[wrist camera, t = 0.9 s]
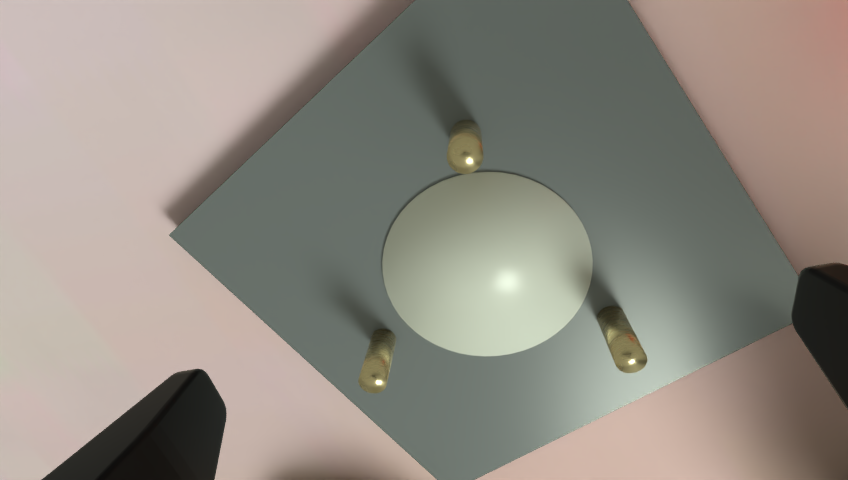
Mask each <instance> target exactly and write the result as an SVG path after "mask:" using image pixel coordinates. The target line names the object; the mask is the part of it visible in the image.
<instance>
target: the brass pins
mask: <svg viewBox="0 0 848 480" xmlns="http://www.w3.org/2000/svg"><path fill="white" fill-rule="evenodd" d="M447 161H448V164H449V166H450V167H451V168H452V169H453V170H454V171H456V172H458V173H461V174H469V173H472V172H474V171H476V170H477V169H478V168H479V167H480V166H481V164H482V161H483V146H482V135H481V130H480V128H479V126H478V125H477V124H476V123H475V122H473V121H471V120H461V121H459V122H457V123H456V124H455V125H454V126H453V127H452V129H451V132H450V138H449V144H448V151H447ZM597 321H598V324H599V326H600V329H601V331H602V334H603V336H604V338H605V341H606V343H607V346H608V348H609V350H610V353H611V355H612V358H613V360H614V363H615V365H616V367H617V368H618V369H619V370H620V371H622V372H624V373H635V372H638V371H640V370H642V369H643V368H644V367H645V366H646V364H647V355H646V353H645V352H644V350H643V348H642V346H641V344H640V342H639V340H638V338H637V336H636V334H635V332H634V330H633V328H632V326H631V324H630V322H629V321H628V319H627V317H626V315H625V313H624V311H623V310H622V309H621V308H620V307H617V306H607V307H605V308H603V309H601V310H600V311H599V313H598V315H597ZM395 345H396V336H395V334H394V333H393V332H392V331H390V330H388V329H378V330H376V331H374V332H373V334H372V336H371V340H370V343H369V346H368V349H367V353H366V356H365V359H364V363H363V366H362V369H361V373H360V376H359V379H358V383H359V385H360V387H361V388H362V389H363V390H364V391H366V392H368V393H380V392H382V391H383V390H384V389H385V388H386V385H387V381H388V376H389V372H390V367H391V363H392V358H393V354H394V349H395Z"/></svg>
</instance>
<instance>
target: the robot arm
mask: <svg viewBox="0 0 848 480" xmlns="http://www.w3.org/2000/svg"><path fill="white" fill-rule="evenodd" d="M791 318H792V323H793V326H794V328H795V330H796V332H797V333H798V335H799V336H800V338H801V339H802V341H803V342H804V344H805V345H806V347H807V348H808V350H809V352H810V353H811V355H812V356H813V358H814V359H815V361H816V362H817V364H818V365H819V367H820V368H821V370H822V371H823V373H824V374H825V376H826V377H827V379H828V380H829V382H830V383H831V385H832V387H833V388H834V390H835V391H836V393H837V394H838V396H839V397H840V399H841V400H842V402H843V403H844V405H845V406H846V408H847V409H848V265H844V264H840V263H829V264H823V265H817V266H811V267H807V268H805V269H803V270H802V271H801V273H800V274H799V277H798V282H797V287H796V291H795V296H794V301H793V306H792V311H791ZM225 422H226V407H225V404H224V401H223V400H222V398H221V396H220V395H219V393H218V391H217V389H216V388H215V386H214V384H213V383H212V381H211V379H210V378H209V376H208V374H207V373H206V372H205V371H203V370H202V369H193V370H187V371H181V372H177V373H175V374H173V375H172V376H170V377H169V378H168V379H167V380H165V381H164V382H163V383H162V384H160V385H159V386H158V387H157V388H155V389H154V390H153V391H152V392H150V393H149V394H148V395H147V396H145V397H144V398H143V399H142V400H140V401H139V402H138V403H137V404H136V405H134V406H133V407H132V408H131V409H129V410H128V411H127V412H126V413H124V414H123V415H122V416H121V417H119V418H118V419H117V420H116V421H114V422H113V423H112V424H111V425H109V426H108V427H107V428H106V429H104V430H103V431H102V432H101V433H99V434H98V435H97V436H96V437H94V438H93V439H92V440H91V441H89V442H88V443H87V444H86V445H84V446H83V447H82V448H81V449H79V450H78V451H77V452H76V453H74V454H73V455H72V456H71V457H69V458H68V459H67V460H66V461H64V462H63V463H62V464H61V465H59V466H58V467H57V468H56V469H54V470H53V471H52V472H51V473H49V474H48V475H47V476H46V477H44V478H43V479H42V480H214V479H215V474H216V469H217V464H218V458H219V453H220V448H221V443H222V438H223V433H224V427H225Z"/></svg>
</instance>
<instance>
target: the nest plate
mask: <svg viewBox="0 0 848 480" xmlns="http://www.w3.org/2000/svg"><path fill="white" fill-rule="evenodd" d="M461 120H471V121H473V122H475V123H476V124H477V125H478V126H479V128H480V130H481V135H482V146H483V161H482V164H481V166H480V167H479V168H478V169H477V170H476V171H474V172H472V173H469V174H461V173H458V172H456V171H454V170H453V169H452V168H451V167H450V166H449V164H448V161H447V151H448V144H449V138H450V132H451V129H452V127H453V126H454V125H455V124H456V123H457V122H459V121H461ZM169 236H170V237H171V238H173V239H174V240H175V241H176V242H177V243H178V244H179V245H180V246H181V247H182V248H184V249H185V250H186V251H187V252H188V253H189V254H190V255H191V256H192V257H193V258H195V259H196V260H197V261H198V262H199V263H200V264H201V265H202V266H203V267H204V268H205V269H207V270H208V271H209V272H210V273H211V274H212V275H213V276H214V277H215V278H216V279H218V280H219V281H220V282H221V283H222V284H223V285H224V286H225V287H226V288H227V289H229V290H230V291H231V292H232V293H233V294H234V295H235V296H236V297H237V298H238V299H239V300H241V301H242V302H243V303H244V304H245V305H246V306H247V307H248V308H249V309H250V310H252V311H253V312H254V313H255V314H256V315H257V316H258V317H259V318H260V319H261V320H263V321H264V322H265V323H266V324H267V325H268V326H269V327H270V328H271V329H272V330H273V331H275V332H276V333H277V334H278V335H279V336H280V337H281V338H282V339H283V340H284V341H286V342H287V343H288V344H289V345H290V346H291V347H292V348H293V349H294V350H295V351H297V352H298V353H299V354H300V355H301V356H302V357H303V358H304V359H305V360H306V361H307V362H309V363H310V364H311V365H312V366H313V367H314V368H315V369H316V370H317V371H318V372H320V373H321V374H322V375H323V376H324V377H325V378H326V379H327V380H328V381H329V382H331V383H332V384H333V385H334V386H335V387H336V388H337V389H338V390H339V391H340V392H342V393H343V394H344V395H345V396H346V397H347V398H348V399H349V400H350V401H351V402H352V403H354V404H355V405H356V406H357V407H358V408H359V409H360V410H361V411H362V412H363V413H365V414H366V415H367V416H368V417H369V418H370V419H371V420H372V421H373V422H374V423H376V424H377V425H378V426H379V427H380V428H381V429H382V430H383V431H384V432H385V433H386V434H388V435H389V436H390V437H391V438H392V439H393V440H394V441H395V442H396V443H397V444H399V445H400V446H401V447H402V448H403V449H404V450H405V451H406V452H407V453H408V454H410V455H411V456H412V457H413V458H414V459H415V460H416V461H417V462H418V463H419V464H420V465H422V466H423V467H424V468H425V469H426V470H427V471H428V472H429V473H430V474H431V475H433V476H434V477H435V478H436V479H437V480H475V479H477V478H479V477H481V476H483V475H485V474H487V473H489V472H491V471H493V470H495V469H497V468H499V467H501V466H503V465H505V464H507V463H509V462H511V461H513V460H515V459H518V458H520V457H522V456H524V455H526V454H528V453H530V452H532V451H534V450H536V449H538V448H540V447H542V446H544V445H546V444H548V443H550V442H552V441H554V440H556V439H558V438H560V437H562V436H564V435H566V434H568V433H570V432H572V431H574V430H576V429H578V428H580V427H583V426H585V425H587V424H589V423H591V422H593V421H595V420H597V419H599V418H601V417H603V416H605V415H607V414H609V413H611V412H613V411H615V410H617V409H619V408H621V407H623V406H625V405H627V404H629V403H631V402H633V401H635V400H637V399H639V398H641V397H643V396H645V395H648V394H650V393H652V392H654V391H656V390H658V389H660V388H662V387H664V386H666V385H668V384H670V383H672V382H674V381H676V380H678V379H680V378H682V377H684V376H686V375H688V374H690V373H692V372H694V371H696V370H698V369H700V368H702V367H704V366H706V365H708V364H710V363H713V362H715V361H717V360H719V359H721V358H723V357H725V356H727V355H729V354H731V353H733V352H735V351H737V350H739V349H741V348H743V347H745V346H747V345H749V344H751V343H753V342H755V341H757V340H759V339H761V338H763V337H765V336H767V335H769V334H771V333H773V332H775V331H778V330H780V329H782V328H784V327H786V326H788V325H790V324H792V318H791V311H792V306H793V301H794V296H795V291H796V287H797V282H798V275H797V273H796V272H795V270H794V269H793V267H792V265H791V264H790V262H789V261H788V259H787V257H786V256H785V254H784V252H783V251H782V249H781V248H780V246H779V244H778V243H777V241H776V240H775V238H774V236H773V235H772V233H771V231H770V230H769V228H768V227H767V225H766V223H765V222H764V220H763V219H762V217H761V215H760V214H759V212H758V210H757V209H756V207H755V206H754V204H753V202H752V201H751V199H750V198H749V196H748V194H747V193H746V191H745V189H744V188H743V186H742V185H741V183H740V181H739V180H738V178H737V177H736V175H735V173H734V172H733V170H732V168H731V167H730V165H729V164H728V162H727V160H726V159H725V157H724V156H723V154H722V152H721V151H720V149H719V147H718V146H717V144H716V143H715V141H714V139H713V138H712V136H711V135H710V133H709V131H708V130H707V128H706V126H705V125H704V123H703V122H702V120H701V118H700V117H699V115H698V114H697V112H696V110H695V109H694V107H693V106H692V104H691V102H690V101H689V99H688V97H687V96H686V94H685V93H684V91H683V89H682V88H681V86H680V85H679V83H678V81H677V80H676V78H675V76H674V75H673V73H672V72H671V70H670V68H669V67H668V65H667V64H666V62H665V60H664V59H663V57H662V55H661V54H660V52H659V51H658V49H657V47H656V46H655V44H654V43H653V41H652V39H651V38H650V36H649V34H648V33H647V31H646V30H645V28H644V26H643V25H642V23H641V22H640V20H639V18H638V17H637V15H636V13H635V12H634V10H633V9H632V7H631V5H630V4H629V2H628V1H627V0H415V1H414V2H413V3H412V4H411V5H410V6H409V7H408V8H406V9H405V10H404V11H403V12H402V13H401V14H400V15H399V16H398V17H397V18H396V19H395V20H394V21H393V22H392V23H391V24H390V25H389V26H388V27H387V28H386V29H384V30H383V31H382V32H381V33H380V34H379V35H378V36H377V37H376V38H375V39H374V40H373V41H372V42H371V43H370V44H369V45H368V46H367V47H366V48H365V49H364V50H362V51H361V52H360V53H359V54H358V55H357V56H356V57H355V58H354V59H353V60H352V61H351V62H350V63H349V64H348V65H347V66H346V67H345V68H344V69H343V70H341V71H340V72H339V73H338V74H337V75H336V76H335V77H334V78H333V79H332V80H331V81H330V82H329V83H328V84H327V85H326V86H325V87H324V88H323V89H322V90H321V91H319V92H318V93H317V94H316V95H315V96H314V97H313V98H312V99H311V100H310V101H309V102H308V103H307V104H306V105H305V106H304V107H303V108H302V109H301V110H300V111H299V112H297V113H296V114H295V115H294V116H293V117H292V118H291V119H290V120H289V121H288V122H287V123H286V124H285V125H284V126H283V127H282V128H281V129H280V130H279V131H278V132H277V133H275V134H274V135H273V136H272V137H271V138H270V139H269V140H268V141H267V142H266V143H265V144H264V145H263V146H262V147H261V148H260V149H259V150H258V151H257V152H256V153H254V154H253V155H252V156H251V157H250V158H249V159H248V160H247V161H246V162H245V163H244V164H243V165H242V166H241V167H240V168H239V169H238V170H237V171H236V172H235V173H234V174H232V175H231V176H230V177H229V178H228V179H227V180H226V181H225V182H224V183H223V184H222V185H221V186H220V187H219V188H218V189H217V190H216V191H215V192H214V193H213V194H212V195H210V196H209V197H208V198H207V199H206V200H205V201H204V202H203V203H202V204H201V205H200V206H199V207H198V208H197V209H196V210H195V211H194V212H193V213H192V214H191V215H190V216H188V217H187V218H186V219H185V220H184V221H183V222H182V223H181V224H180V225H179V226H178V227H177V228H176V229H175V230H174V231H173V232H172V233H171V234H170V235H169ZM607 306H617V307H620V308H621V309H622V310H623V311H624V313H625V315H626V317H627V319H628V321H629V322H630V324H631V326H632V328H633V330H634V332H635V334H636V336H637V338H638V340H639V342H640V344H641V346H642V348H643V350H644V352H645V353H646V355H647V364H646V366H645V367H644V368H643V369H642V370H640V371H638V372H635V373H624V372H622V371H620V370H619V369H618V368H617V367H616V365H615V363H614V360H613V358H612V355H611V353H610V350H609V348H608V346H607V343H606V341H605V338H604V336H603V334H602V331H601V329H600V326H599V324H598V321H597V315H598V313H599V311H600V310H601V309H603V308H605V307H607ZM378 329H388V330H390V331H392V332H393V333H394V334H395V336H396V345H395V349H394V354H393V358H392V363H391V367H390V372H389V376H388V381H387V385H386V388H385V389H384V390H383V391H382V392H380V393H368V392H366V391H364V390H363V389H362V388H361V387H360V385H359V383H358V379H359V376H360V373H361V369H362V366H363V363H364V359H365V356H366V353H367V349H368V346H369V343H370V340H371V336H372V334H373V332H374V331H376V330H378Z"/></svg>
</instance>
